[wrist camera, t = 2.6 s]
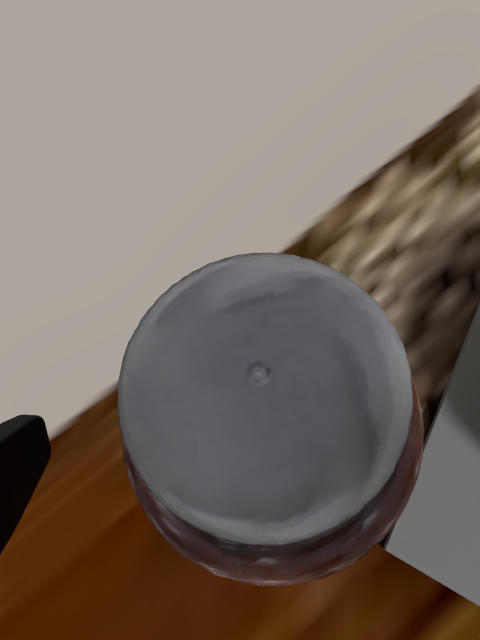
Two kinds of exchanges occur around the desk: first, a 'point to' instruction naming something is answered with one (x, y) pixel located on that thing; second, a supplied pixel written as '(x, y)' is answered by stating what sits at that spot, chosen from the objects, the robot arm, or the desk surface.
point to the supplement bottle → (269, 419)
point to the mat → (448, 485)
